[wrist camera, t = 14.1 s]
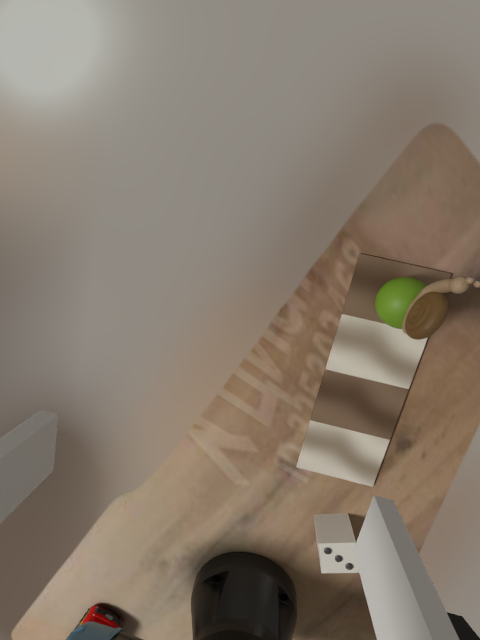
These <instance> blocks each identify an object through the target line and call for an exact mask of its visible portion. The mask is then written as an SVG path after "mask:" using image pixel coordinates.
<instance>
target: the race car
mask: <svg viewBox="0 0 480 640" xmlns="http://www.w3.org/2000/svg"><path fill="white" fill-rule="evenodd" d="M86 622H96V623H100V624H103V625H106V626H109V627H112V628H115V629H116V628H118V627H120V628H122V627H123V621H122V620H120V617H119V618H118V616H117V617H116V615H114V614H113V613H111V612H109V611H107V610H106V609H104V608H102V607H99V606H93V607H91V608H89V609H88V611H87V613H85V615H84V617H83V618H82V619H81V621H80V622H79V624H78V625H77V626H76V628H77V627H78V626H80V625H81V624H84V623H86ZM76 628H75V629H76ZM75 629H74V630H75Z"/></svg>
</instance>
